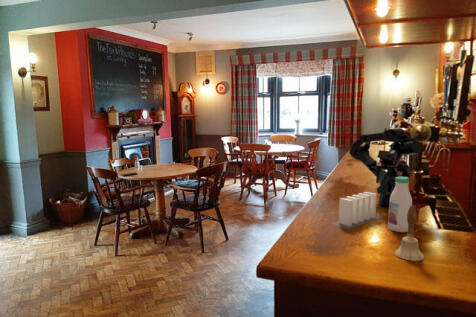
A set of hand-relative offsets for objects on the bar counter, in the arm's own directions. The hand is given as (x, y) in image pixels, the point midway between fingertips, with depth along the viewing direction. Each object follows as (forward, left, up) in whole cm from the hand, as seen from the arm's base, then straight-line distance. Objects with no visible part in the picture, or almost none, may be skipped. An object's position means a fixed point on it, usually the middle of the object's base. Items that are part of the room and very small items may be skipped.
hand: (379, 183), depth 149 cm
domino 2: (+16, +9, -13) cm, 23 cm away
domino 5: (+6, +3, -13) cm, 15 cm away
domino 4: (+9, +5, -13) cm, 17 cm away
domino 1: (+20, +11, -13) cm, 26 cm away
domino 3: (+13, +7, -13) cm, 20 cm away
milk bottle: (+2, +19, -14) cm, 23 cm away
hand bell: (+12, +41, -14) cm, 45 cm away
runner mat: (+13, +7, -14) cm, 20 cm away
